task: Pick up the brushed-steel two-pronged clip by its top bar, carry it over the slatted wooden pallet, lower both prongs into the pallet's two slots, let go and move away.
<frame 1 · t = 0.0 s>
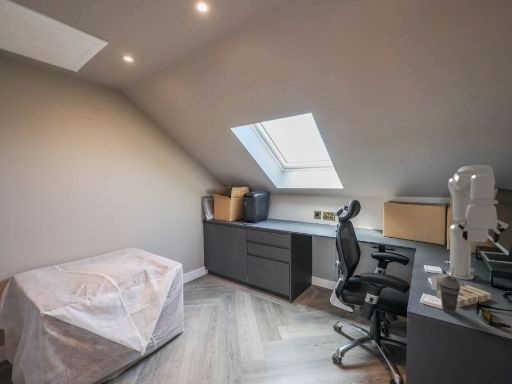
hand: (479, 241, 106), 31 cm above the table, tool pointing down, fingers open, 9 cm apart
beverage cup: (448, 311, 107), on the table
slatted wooden pallet: (463, 298, 118), on the table
clip: (440, 288, 129), on the table
pliers: (455, 267, 162), on the table
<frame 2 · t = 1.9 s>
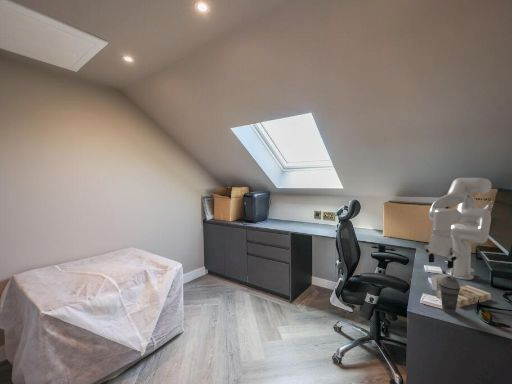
hand: (440, 265, 128), 13 cm above the table, tool pointing down, fingers open, 9 cm apart
nothing on the table moved.
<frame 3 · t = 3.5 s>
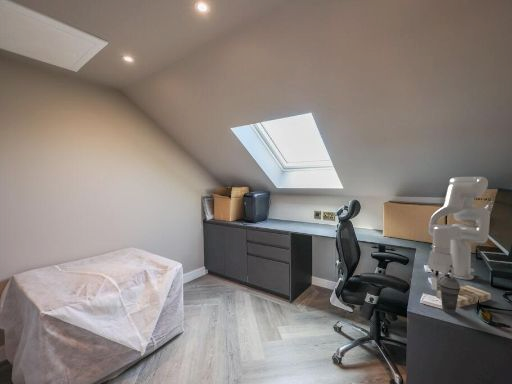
hand: (440, 283, 128), 3 cm above the table, tool pointing down, fingers closed on clip, 3 cm apart
clip: (440, 288, 129), on the table, touching gripper
everything else where it was.
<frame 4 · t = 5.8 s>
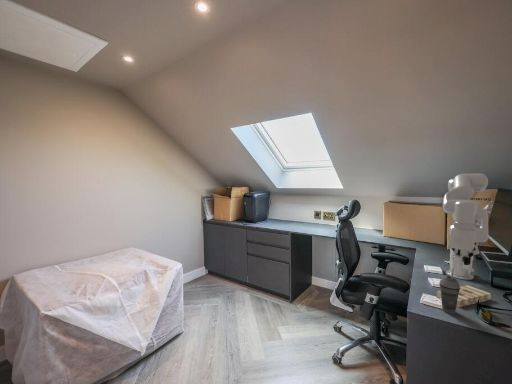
hand: (462, 263, 118), 17 cm above the table, tool pointing down, fingers closed on clip, 3 cm apart
clip: (462, 269, 118), point 14 cm above the table, touching gripper
everything else where it was.
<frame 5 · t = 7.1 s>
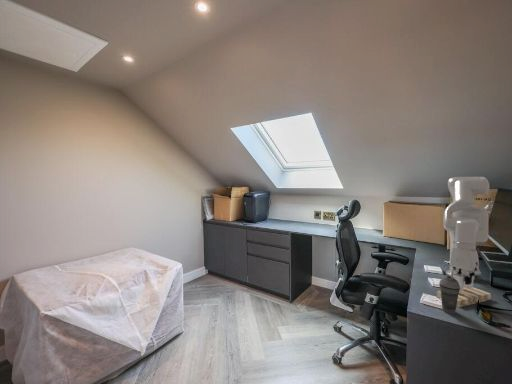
hand: (463, 282, 118), 8 cm above the table, tool pointing down, fingers closed on clip, 3 cm apart
clip: (463, 288, 118), point 5 cm above the table, touching gripper
everything else where it was.
when the fingers open (4 cm above the table, at t = 8.2 s): clip stays where it is, resting in slatted wooden pallet.
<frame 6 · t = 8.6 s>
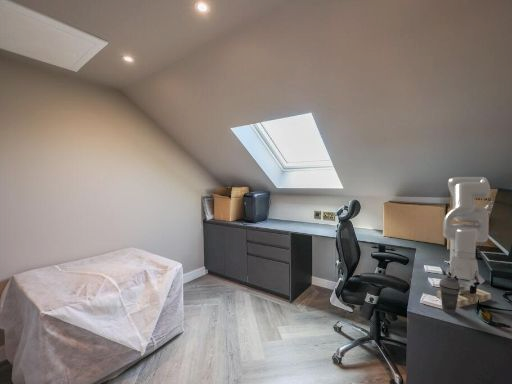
hand: (463, 289, 118), 4 cm above the table, tool pointing down, fingers open, 7 cm apart
clip: (463, 298, 118), resting in slatted wooden pallet
everything else where it was.
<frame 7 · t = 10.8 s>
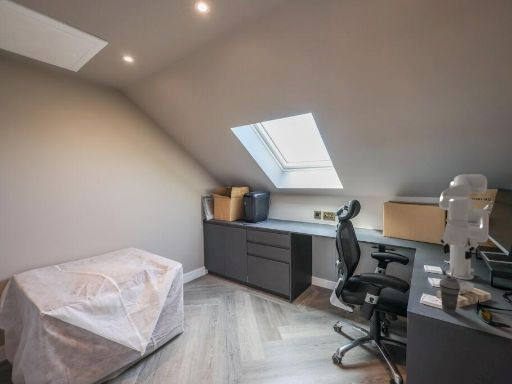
hand: (456, 255, 122), 20 cm above the table, tool pointing down, fingers open, 9 cm apart
nothing on the table moved.
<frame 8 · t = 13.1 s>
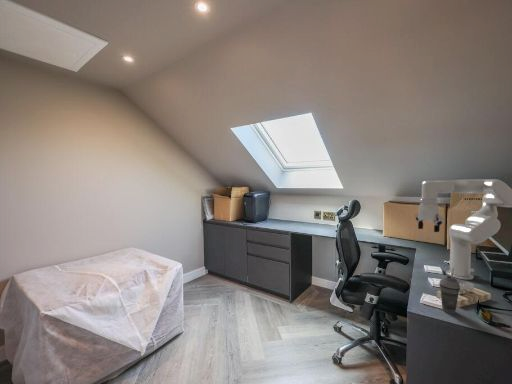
hand: (428, 230, 143), 28 cm above the table, tool pointing down, fingers open, 9 cm apart
nothing on the table moved.
at the end: clip 0.1 cm off-centre on the slatted wooden pallet, point 0.0 cm above the slatted wooden pallet's base; clip tilted 0°; the gripper is holding nothing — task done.
